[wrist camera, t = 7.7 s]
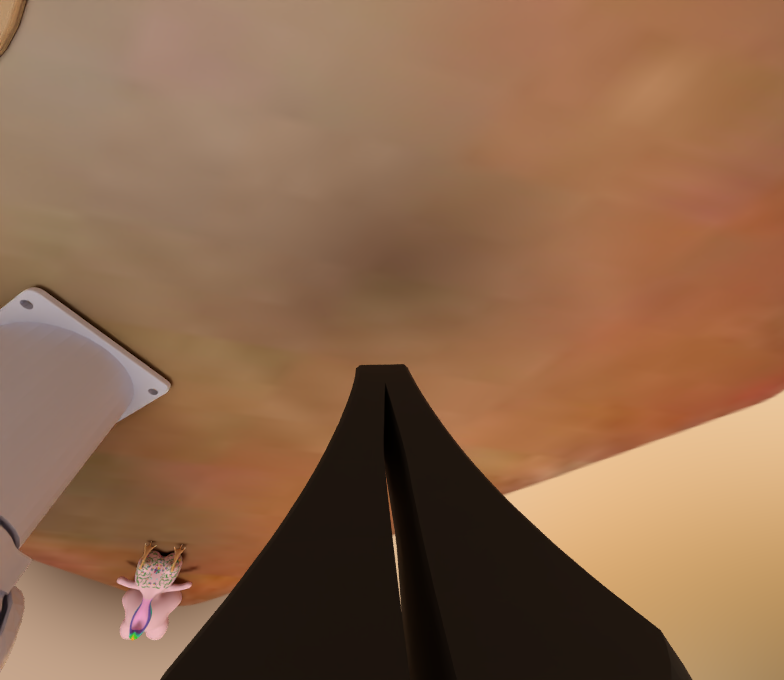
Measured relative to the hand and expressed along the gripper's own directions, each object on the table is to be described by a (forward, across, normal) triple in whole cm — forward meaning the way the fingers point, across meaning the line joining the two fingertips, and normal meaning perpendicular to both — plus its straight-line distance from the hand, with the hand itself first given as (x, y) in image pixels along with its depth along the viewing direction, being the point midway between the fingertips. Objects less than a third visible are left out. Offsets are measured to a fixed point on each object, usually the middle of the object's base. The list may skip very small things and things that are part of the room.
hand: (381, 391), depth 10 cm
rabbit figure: (+10, +21, +33) cm, 41 cm away
